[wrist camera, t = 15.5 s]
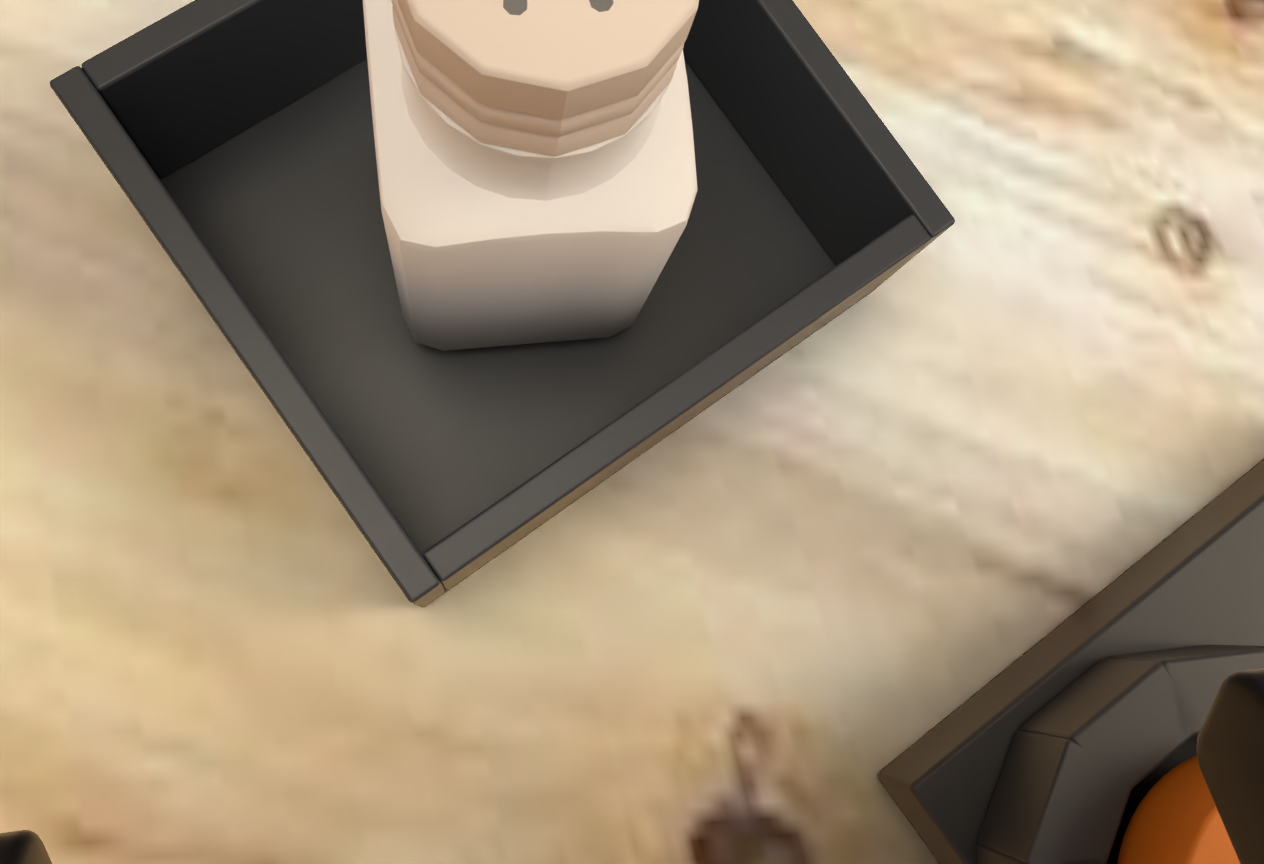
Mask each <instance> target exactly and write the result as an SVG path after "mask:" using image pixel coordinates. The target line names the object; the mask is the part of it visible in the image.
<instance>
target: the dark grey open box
mask: <svg viewBox="0 0 1264 864" xmlns="http://www.w3.org/2000/svg"><path fill="white" fill-rule="evenodd" d="M683 54H684V61H685V67H686V74H687V81H688V90H689V99H690V109H691V118H692V127H693V139H694V151H695V164H696V176H697V189H698V190H697V193H696V196H695V200H694V203H693V206H692V209H691V212H690V216H689V219H688V222H687V225H686V227H685V229H684V231H683V233H682V234H681V236H680V238H679V240H678V242H677V244H676V246H675V247H674V249H673V251H672V253H671V255H670V257H669V258H668V260H667V262H666V264H665V266H664V268H663V270H662V271H661V273H660V275H659V277H658V279H657V281H656V283H655V284H654V286H653V288H652V290H651V292H650V294H649V295H648V297H647V299H646V301H645V303H644V305H643V307H642V308H641V310H640V312H639V314H638V316H637V318H636V319H635V321H634V323H633V325H632V326H630V327H628V328H626V329H624V330H622V331H620V332H618V333H616V334H614V335H612V336H610V337H604V338H592V339H581V340H569V341H556V342H544V343H532V344H520V345H508V346H496V347H484V348H472V349H459V350H447V351H442V350H439V349H436V348H432V347H429V346H426V345H423V344H419V343H416V341H415V339H414V337H413V335H412V333H411V332H410V330H409V328H408V326H407V324H406V322H405V321H404V319H403V314H402V309H401V304H400V299H399V294H398V289H397V284H396V280H395V275H394V270H393V265H392V260H391V255H390V250H389V245H388V240H387V235H386V231H385V226H384V221H383V216H382V211H381V202H380V191H379V181H378V171H377V161H376V151H375V140H374V130H373V119H372V108H371V97H370V85H369V74H368V62H367V50H366V37H365V25H364V12H363V0H195V1H193V2H191V3H189V4H188V5H186V6H184V7H182V8H180V9H179V10H177V11H175V12H173V13H171V14H170V15H168V16H166V17H164V18H162V19H161V20H159V21H157V22H155V23H153V24H152V25H150V26H148V27H146V28H144V29H143V30H141V31H139V32H137V33H135V34H134V35H132V36H130V37H128V38H127V39H125V40H123V41H121V42H119V43H118V44H116V45H114V46H112V47H110V48H109V49H107V50H105V51H103V52H101V53H100V54H98V55H96V56H94V57H92V58H91V59H89V60H87V61H85V62H83V64H82V68H81V67H79V66H77V67H74V68H73V69H71V70H69V71H67V72H65V73H64V74H62V75H60V76H58V77H56V78H55V79H53V80H51V82H50V86H51V88H52V89H53V90H54V92H55V93H56V95H57V96H58V98H59V99H60V100H61V102H62V103H63V105H64V106H65V108H66V109H67V111H68V112H69V113H70V115H71V116H72V118H73V119H74V121H75V122H76V123H77V125H78V126H79V128H80V129H81V131H82V132H83V133H84V135H85V136H86V138H87V139H88V141H89V142H90V144H91V145H92V146H93V148H94V149H95V151H96V152H97V154H98V155H99V156H100V158H101V159H102V161H103V162H104V164H105V165H106V166H107V168H108V169H109V171H110V172H111V174H112V175H113V177H114V178H115V179H116V181H117V182H118V184H119V185H120V187H121V188H122V189H123V191H124V192H125V194H126V195H127V197H128V198H129V200H130V201H131V202H132V204H133V205H134V207H135V208H136V210H137V211H138V212H139V214H140V215H141V217H142V218H143V220H144V221H145V222H146V224H147V225H148V227H149V228H150V230H151V231H152V233H153V234H154V235H155V237H156V238H157V240H158V241H159V243H160V244H161V245H162V247H163V248H164V250H165V251H166V253H167V254H168V255H169V257H170V258H171V260H172V261H173V263H174V264H175V266H176V267H177V268H178V270H179V271H180V273H181V274H182V276H183V277H184V278H185V280H186V281H187V283H188V284H189V286H190V287H191V288H192V290H193V291H194V293H195V294H196V296H197V297H198V299H199V300H200V301H201V303H202V304H203V306H204V307H205V309H206V310H207V311H208V313H209V314H210V316H211V317H212V319H213V320H214V321H215V323H216V324H217V326H218V327H219V329H220V330H221V332H222V333H223V334H224V336H225V337H226V339H227V340H228V342H229V343H230V344H231V346H232V347H233V349H234V350H235V352H236V353H237V354H238V356H239V357H240V359H241V360H242V362H243V363H244V365H245V366H246V367H247V369H248V370H249V372H250V373H251V375H252V376H253V377H254V379H255V380H256V382H257V383H258V385H259V386H260V388H261V389H262V390H263V392H264V393H265V395H266V396H267V398H268V399H269V400H270V402H271V403H272V405H273V406H274V408H275V409H276V410H277V412H278V413H279V415H280V416H281V418H282V419H283V421H284V422H285V423H286V425H287V426H288V428H289V429H290V431H291V432H292V433H293V435H294V436H295V438H296V439H297V441H298V442H299V443H300V445H301V446H302V448H303V449H304V451H305V452H306V454H307V455H308V456H309V458H310V459H311V461H312V462H313V464H314V465H315V466H316V468H317V469H318V471H319V472H320V474H321V475H322V476H323V478H324V479H325V481H326V482H327V484H328V485H329V487H330V488H331V489H332V491H333V492H334V494H335V495H336V497H337V498H338V499H339V501H340V502H341V504H342V505H343V507H344V508H345V509H346V511H347V512H348V514H349V515H350V517H351V518H352V520H353V521H354V522H355V524H356V525H357V527H358V528H359V530H360V531H361V532H362V534H363V535H364V537H365V538H366V540H367V541H368V542H369V544H370V545H371V547H372V548H373V550H374V551H375V553H376V554H377V555H378V557H379V558H380V560H381V561H382V563H383V564H384V565H385V567H386V568H387V570H388V571H389V573H390V574H391V576H392V577H393V578H394V580H395V581H396V583H397V584H398V586H399V587H400V588H401V590H402V591H403V593H404V594H405V596H406V597H407V598H408V600H409V601H410V602H412V603H414V604H416V605H418V606H420V607H426V606H427V605H428V604H430V603H431V602H433V601H434V600H436V599H437V598H438V597H440V596H441V595H443V594H444V593H445V592H447V591H448V590H450V589H451V588H453V587H454V586H455V585H457V584H458V583H460V582H461V581H462V580H464V579H465V578H467V577H468V576H470V575H471V574H472V573H474V572H475V571H477V570H478V569H480V568H481V567H482V566H484V565H485V564H487V563H488V562H489V561H491V560H492V559H494V558H495V557H497V556H498V555H499V554H501V553H502V552H504V551H505V550H506V549H508V548H509V547H511V546H512V545H514V544H515V543H516V542H518V541H519V540H521V539H522V538H523V537H525V536H526V535H528V534H529V533H531V532H532V531H533V530H535V529H536V528H538V527H539V526H541V525H542V524H543V523H545V522H546V521H548V520H549V519H550V518H552V517H553V516H555V515H556V514H558V513H559V512H560V511H562V510H563V509H565V508H566V507H567V506H569V505H570V504H572V503H573V502H575V501H576V500H577V499H579V498H580V497H582V496H583V495H584V494H586V493H587V492H589V491H590V490H592V489H593V488H594V487H596V486H597V485H599V484H600V483H601V482H603V481H604V480H606V479H607V478H609V477H610V476H611V475H613V474H614V473H616V472H617V471H619V470H620V469H621V468H623V467H624V466H626V465H627V464H628V463H630V462H631V461H633V460H634V459H636V458H637V457H638V456H640V455H641V454H643V453H644V452H645V451H647V450H648V449H650V448H651V447H653V446H654V445H655V444H657V443H658V442H660V441H661V440H662V439H664V438H665V437H667V436H668V435H670V434H671V433H672V432H674V431H675V430H677V429H678V428H680V427H681V426H682V425H684V424H685V423H687V422H688V421H689V420H691V419H692V418H694V417H695V416H697V415H698V414H699V413H701V412H702V411H704V410H705V409H706V408H708V407H709V406H711V405H712V404H714V403H715V402H716V401H718V400H719V399H721V398H722V397H723V396H725V395H726V394H728V393H729V392H731V391H732V390H733V389H735V388H736V387H738V386H739V385H741V384H742V383H743V382H745V381H746V380H748V379H749V378H750V377H752V376H753V375H755V374H756V373H758V372H759V371H760V370H762V369H763V368H765V367H766V366H767V365H769V364H770V363H772V362H773V361H775V360H776V359H777V358H779V357H780V356H782V355H783V354H784V353H786V352H787V351H789V350H790V349H792V348H793V347H794V346H796V345H797V344H799V343H800V342H801V341H803V340H804V339H806V338H807V337H809V336H810V335H811V334H813V333H814V332H816V331H817V330H819V329H820V328H821V327H823V326H824V325H826V324H827V323H828V322H830V321H831V320H833V319H834V318H836V317H837V316H838V315H840V314H841V313H843V312H844V311H845V310H847V309H848V308H850V307H851V306H853V305H854V304H855V303H857V302H858V301H860V300H861V299H862V298H864V297H865V296H867V295H868V294H870V293H871V292H872V291H873V290H875V289H876V288H877V287H878V286H879V285H881V284H882V283H883V282H884V281H885V280H887V279H888V278H889V277H890V276H891V275H893V274H894V273H895V272H896V271H897V270H899V269H900V268H901V267H902V266H903V265H905V264H906V263H907V262H908V261H909V260H911V259H912V258H913V257H914V256H915V255H917V254H918V253H919V252H920V251H921V250H923V249H924V248H925V247H926V246H928V245H929V244H930V243H931V242H932V241H934V240H935V239H936V238H937V237H938V236H940V235H941V234H942V233H943V232H944V231H946V230H947V229H948V228H949V227H950V226H952V225H953V224H954V222H955V220H954V218H953V217H952V215H951V214H950V212H949V211H948V210H947V208H946V207H945V206H944V204H943V203H942V202H941V200H940V199H939V198H938V196H937V195H936V194H935V192H934V191H933V190H932V188H931V187H930V185H929V184H928V183H927V181H926V180H925V179H924V177H923V176H922V175H921V173H920V172H919V171H918V169H917V168H916V167H915V165H914V164H913V163H912V161H911V160H910V159H909V157H908V156H907V154H906V153H905V152H904V150H903V149H902V148H901V146H900V145H899V144H898V142H897V141H896V140H895V138H894V137H893V136H892V134H891V133H890V132H889V130H888V129H887V127H886V126H885V125H884V123H883V122H882V121H881V119H880V118H879V117H878V115H877V114H876V113H875V111H874V110H873V109H872V107H871V106H870V105H869V103H868V102H867V101H866V99H865V98H864V96H863V95H862V94H861V92H860V91H859V90H858V88H857V87H856V86H855V84H854V83H853V82H852V80H851V79H850V78H849V76H848V75H847V74H846V72H845V71H844V69H843V68H842V67H841V65H840V64H839V63H838V61H837V60H836V59H835V57H834V56H833V55H832V53H831V52H830V51H829V49H828V48H827V47H826V45H825V44H824V43H823V41H822V40H821V38H820V37H819V36H818V34H817V33H816V32H815V30H814V29H813V28H812V26H811V25H810V24H809V22H808V21H807V20H806V18H805V17H804V16H803V14H802V13H801V11H800V10H799V9H798V7H797V6H796V5H795V3H794V2H793V1H792V0H699V4H698V9H697V12H696V15H695V18H694V20H693V23H692V26H691V28H690V31H689V34H688V36H687V39H686V41H685V42H684V47H683Z"/></svg>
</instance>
